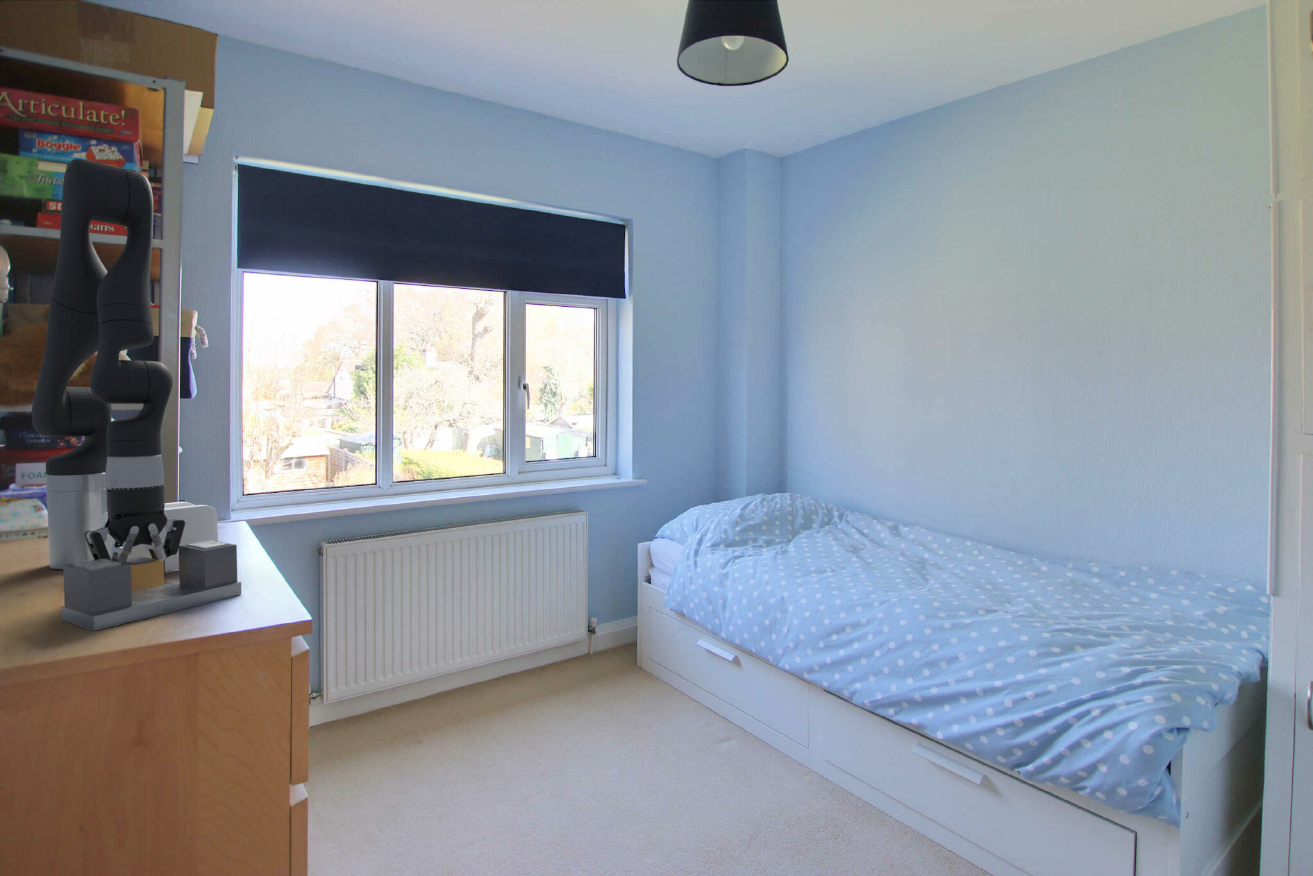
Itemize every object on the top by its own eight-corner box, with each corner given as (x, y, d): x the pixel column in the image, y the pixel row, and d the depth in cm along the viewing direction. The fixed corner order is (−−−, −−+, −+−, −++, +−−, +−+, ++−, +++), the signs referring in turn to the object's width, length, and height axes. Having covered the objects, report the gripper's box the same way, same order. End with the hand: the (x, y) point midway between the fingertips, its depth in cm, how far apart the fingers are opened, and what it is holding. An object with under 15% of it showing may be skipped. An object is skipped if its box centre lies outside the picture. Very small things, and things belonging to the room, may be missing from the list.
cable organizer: (122, 582, 117) (120, 514, 117) (101, 572, 123) (99, 508, 123) (219, 565, 130) (217, 504, 129) (195, 557, 136) (193, 499, 135)
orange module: (113, 590, 112) (112, 560, 112) (144, 584, 116) (143, 555, 116) (133, 595, 109) (132, 564, 109) (164, 589, 113) (163, 559, 113)
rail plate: (61, 620, 97) (59, 563, 96) (208, 586, 115) (207, 538, 114) (94, 631, 93) (92, 571, 92) (241, 594, 111) (240, 544, 110)
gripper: (170, 477, 120) (173, 574, 121) (70, 486, 107) (74, 594, 108) (195, 480, 116) (198, 579, 117) (95, 489, 104) (99, 601, 104)
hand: (138, 586), depth 113 cm, fingers closed on orange module, 4 cm apart
